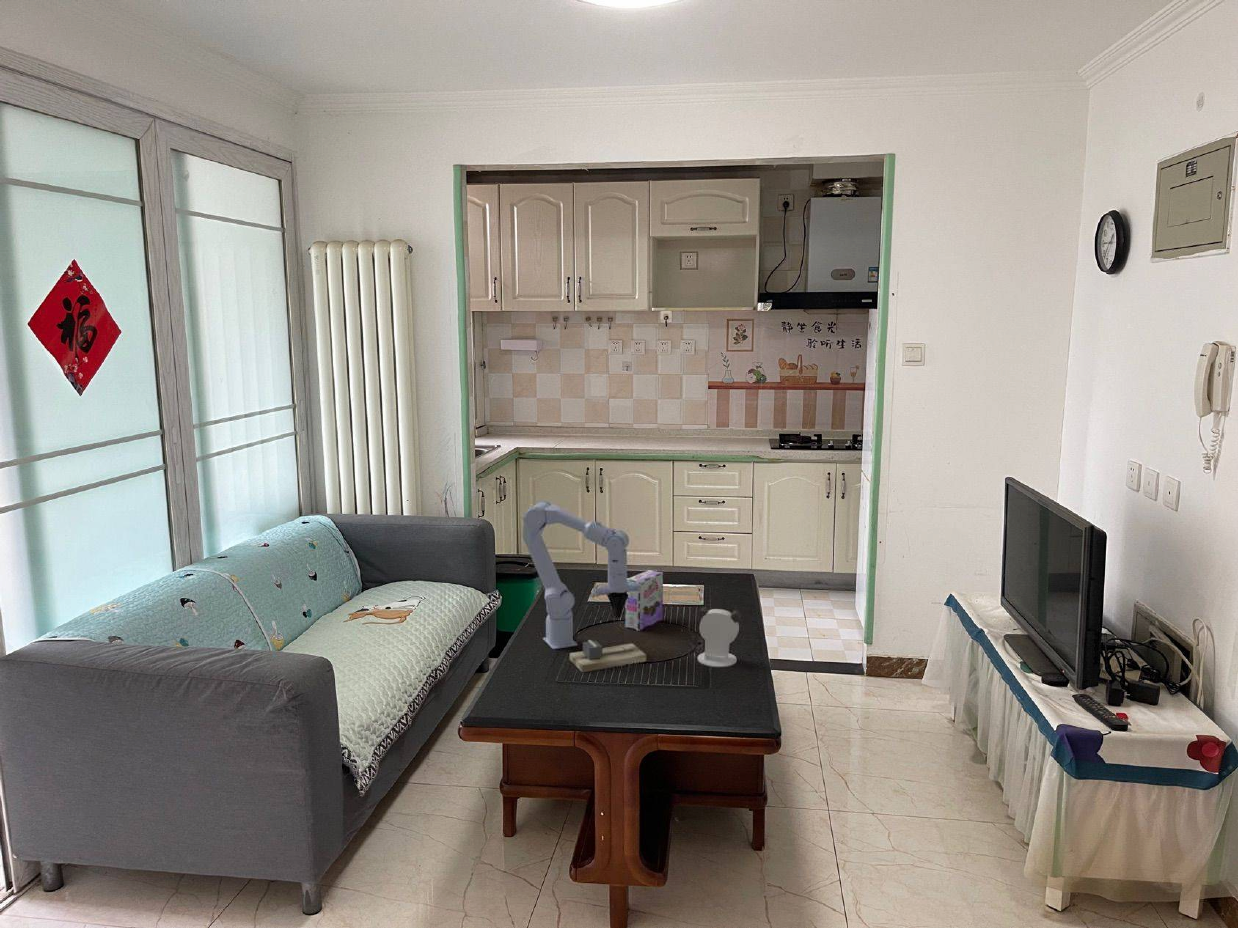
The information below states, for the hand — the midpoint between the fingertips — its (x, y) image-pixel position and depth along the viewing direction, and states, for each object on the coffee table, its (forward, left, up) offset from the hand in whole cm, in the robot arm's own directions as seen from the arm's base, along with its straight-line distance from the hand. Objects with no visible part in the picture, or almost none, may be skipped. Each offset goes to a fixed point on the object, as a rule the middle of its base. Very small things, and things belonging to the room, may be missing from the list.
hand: (617, 616), depth 263 cm
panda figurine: (+19, +24, -11) cm, 32 cm away
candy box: (-17, +17, -11) cm, 26 cm away
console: (+7, -6, -10) cm, 14 cm away
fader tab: (+7, -11, -8) cm, 15 cm away
